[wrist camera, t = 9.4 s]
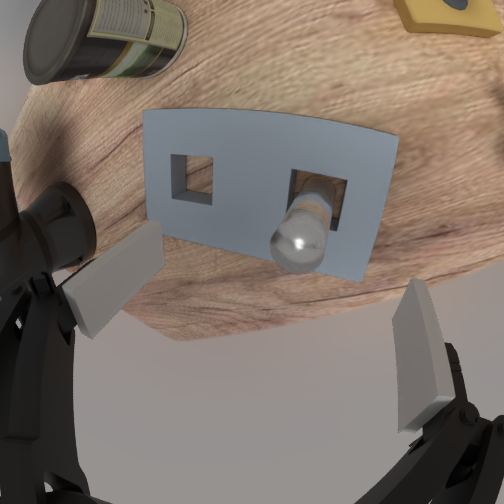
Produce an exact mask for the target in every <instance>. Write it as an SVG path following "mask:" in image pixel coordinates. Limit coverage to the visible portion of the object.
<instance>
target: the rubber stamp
mask: <svg viewBox="0 0 504 504" xmlns="http://www.w3.org/2000/svg"><path fill="white" fill-rule="evenodd" d="M393 2H394V4H395V6H396V8H397V11H398V13H399V15H400V17H401V20H402V22H403V24H404V27H405V29H406V30H407V31H409V32H434V33H452V34H463V35H471V36H479V37H485V38H490V37H492V36H495V35H497V34H499V33H501V32H502V31H503V30H504V29H503V26H502V24H501V21H500V19H499V17H498V14H497V12H496V10H495V8H494V6H493V4H492V2H491V0H393Z"/></svg>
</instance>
